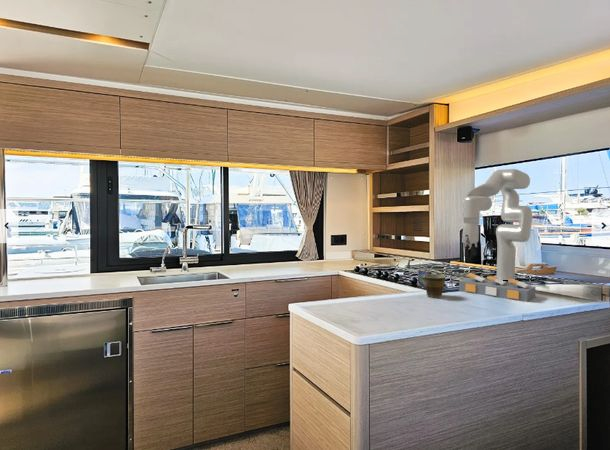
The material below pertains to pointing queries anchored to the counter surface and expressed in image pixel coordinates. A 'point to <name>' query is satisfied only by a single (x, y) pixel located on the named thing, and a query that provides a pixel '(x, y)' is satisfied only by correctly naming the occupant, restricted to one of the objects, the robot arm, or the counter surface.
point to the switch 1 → (476, 277)
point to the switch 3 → (518, 283)
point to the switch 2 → (496, 280)
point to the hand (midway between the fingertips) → (470, 255)
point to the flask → (421, 274)
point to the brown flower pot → (433, 285)
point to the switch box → (497, 289)
